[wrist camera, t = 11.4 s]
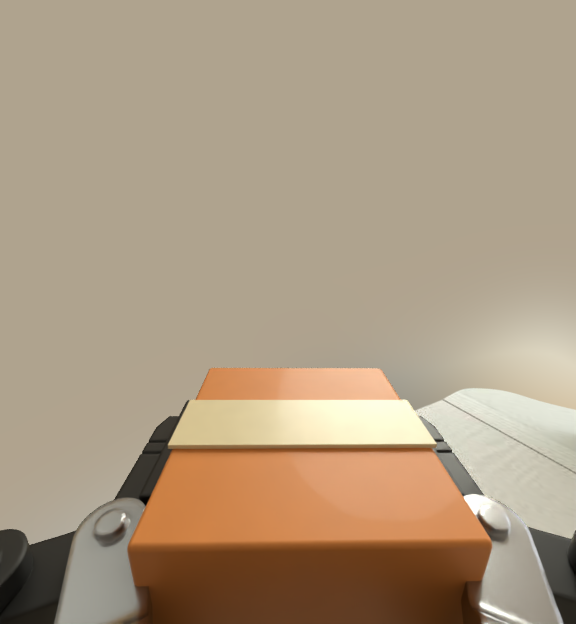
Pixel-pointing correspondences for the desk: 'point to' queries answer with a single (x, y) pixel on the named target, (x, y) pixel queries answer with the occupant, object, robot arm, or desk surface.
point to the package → (305, 507)
